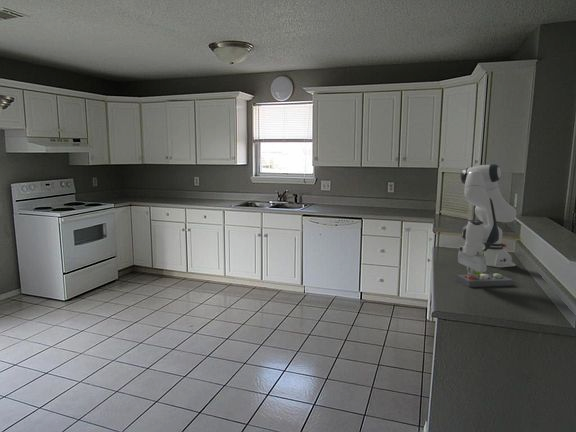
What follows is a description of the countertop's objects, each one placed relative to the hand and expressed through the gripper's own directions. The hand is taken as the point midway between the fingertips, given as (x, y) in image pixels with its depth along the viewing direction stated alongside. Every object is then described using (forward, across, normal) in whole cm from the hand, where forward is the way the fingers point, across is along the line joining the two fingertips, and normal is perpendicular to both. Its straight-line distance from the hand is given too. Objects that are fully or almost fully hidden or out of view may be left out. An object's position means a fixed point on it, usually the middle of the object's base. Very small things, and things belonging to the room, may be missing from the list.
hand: (470, 275), depth 221 cm
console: (+4, 0, -8) cm, 9 cm away
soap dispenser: (+4, +18, -17) cm, 25 cm away
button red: (+3, 0, 0) cm, 3 cm away
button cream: (+3, 0, -8) cm, 9 cm away
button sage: (+3, 0, -16) cm, 16 cm away
